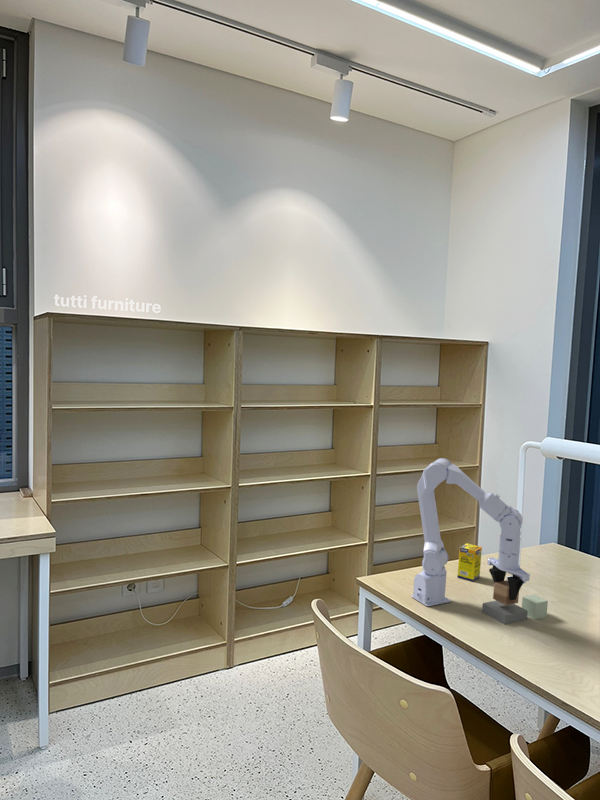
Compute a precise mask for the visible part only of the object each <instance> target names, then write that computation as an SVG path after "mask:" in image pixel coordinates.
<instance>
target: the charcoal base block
mask: <svg viewBox="0 0 600 800" xmlns="http://www.w3.org/2000/svg"><path fill="white" fill-rule="evenodd" d="M481 606H482V607H481V612H482V613H484V614H485V615H487V616H489V617H491V618H492V619H494V620H496V621H498V622H499V623H501V624H503V625H508V624H512V623H517V622H521V621H526V620H528V616H527V614H528V611H527V610H525V609H523V608H522V606H520V605H518V604H517V603H515V604H510V605H504V604H502V603H500V602H498V601H496V600H492V601H488V602H487V601H486V602H483V603H482V605H481Z"/></svg>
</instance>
